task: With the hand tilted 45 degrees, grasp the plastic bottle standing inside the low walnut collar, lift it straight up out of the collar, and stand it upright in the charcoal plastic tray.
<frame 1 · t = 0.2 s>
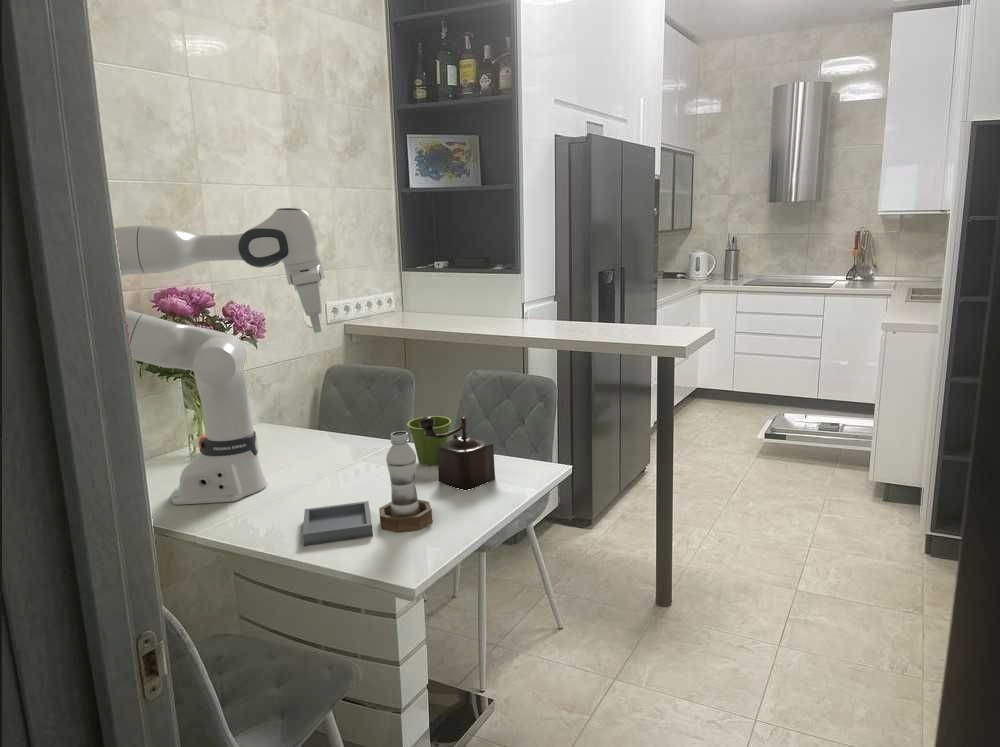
hand: (317, 329, 184), 39 cm above the table, tool pointing down, fingers open, 8 cm apart
walnut collar: (406, 521, 162), on the table
charcoal tray: (338, 528, 160), on the table
manual coffee grinder: (458, 484, 184), on the table
plastic bottle: (406, 522, 162), resting in walnut collar
plant pot: (432, 462, 201), on the table
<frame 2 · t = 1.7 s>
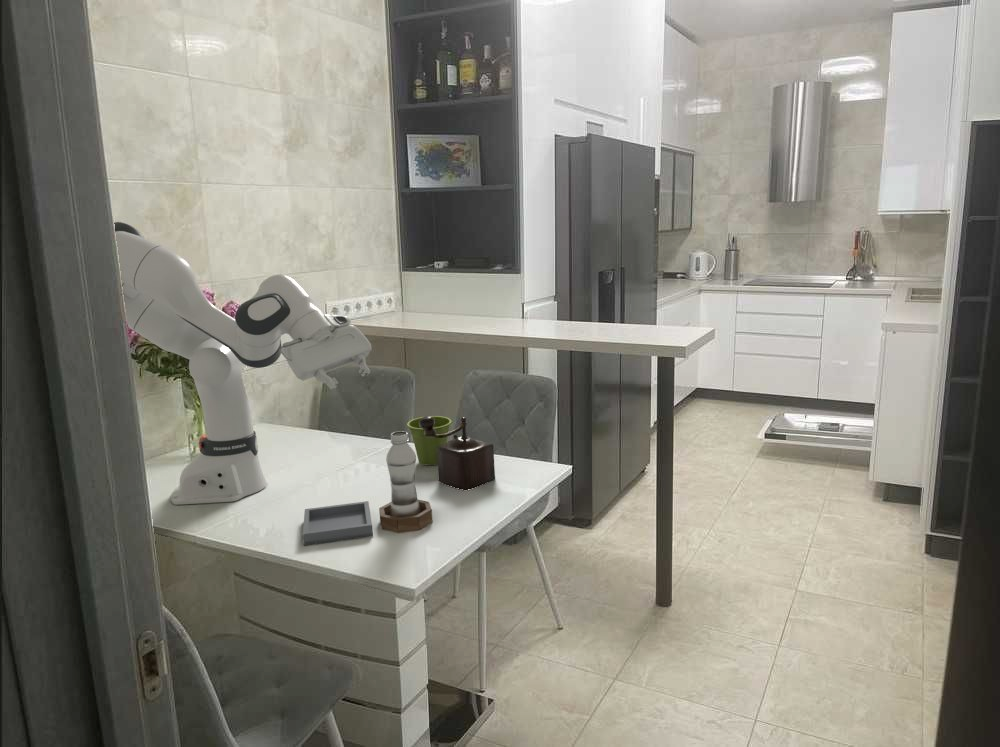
hand: (351, 380, 162), 31 cm above the table, tool tilted 45°, fingers open, 8 cm apart
nothing on the table moved.
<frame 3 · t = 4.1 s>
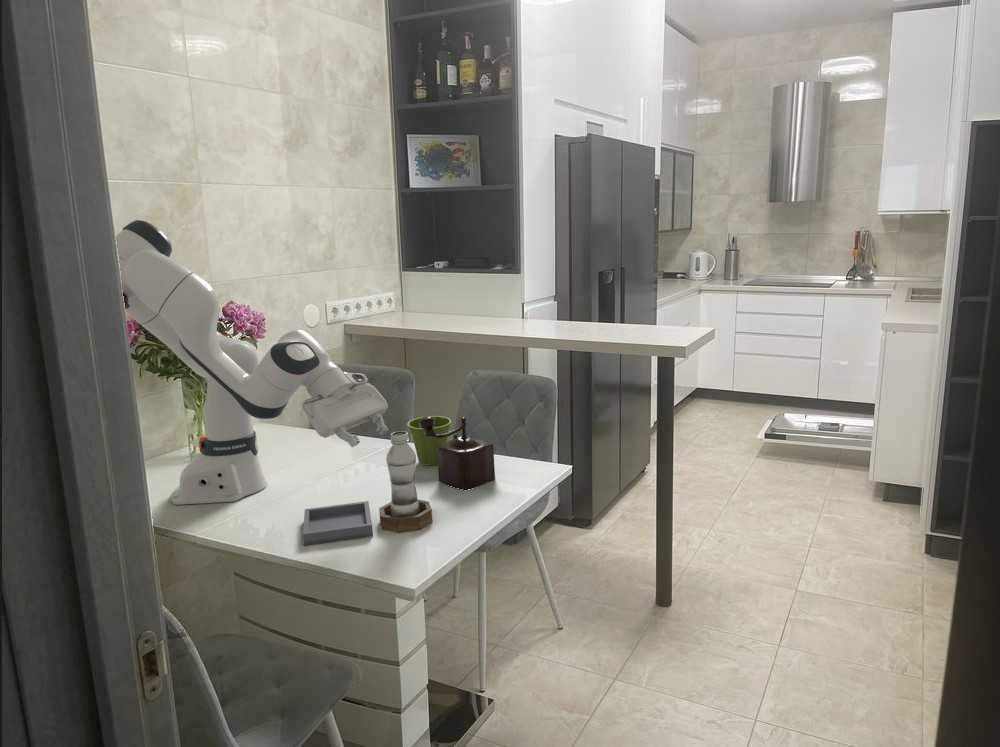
hand: (370, 438, 161), 18 cm above the table, tool tilted 45°, fingers open, 8 cm apart
nothing on the table moved.
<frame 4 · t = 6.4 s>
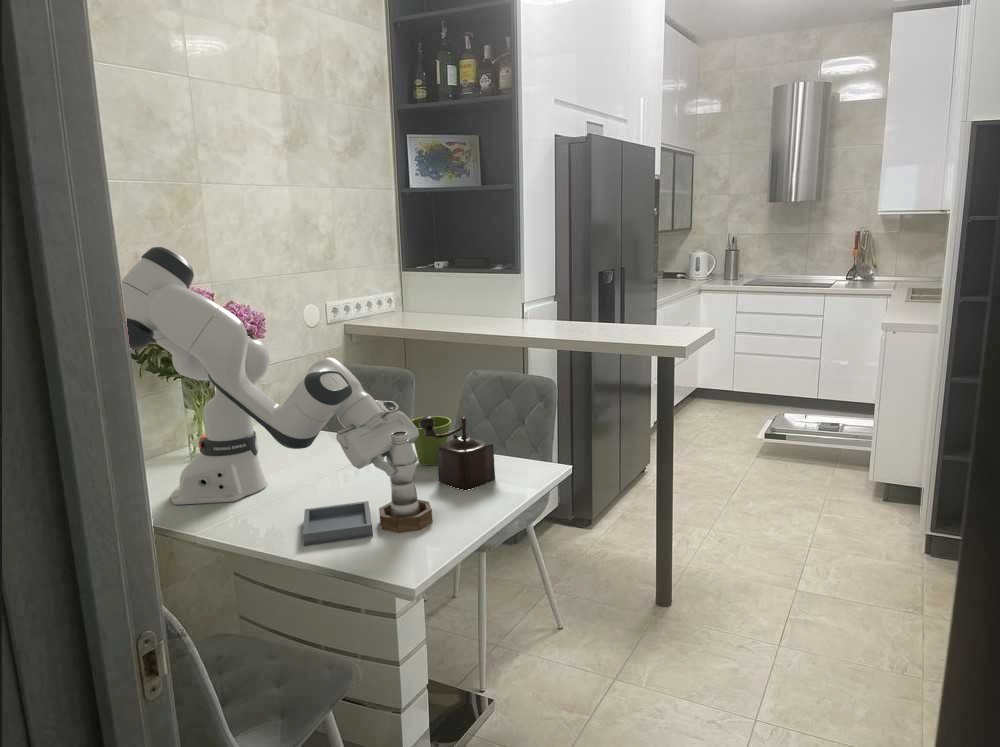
hand: (404, 468, 159), 12 cm above the table, tool tilted 45°, fingers closed on plastic bottle, 6 cm apart
plastic bottle: (406, 522, 162), resting in walnut collar, touching gripper
everything else where it was.
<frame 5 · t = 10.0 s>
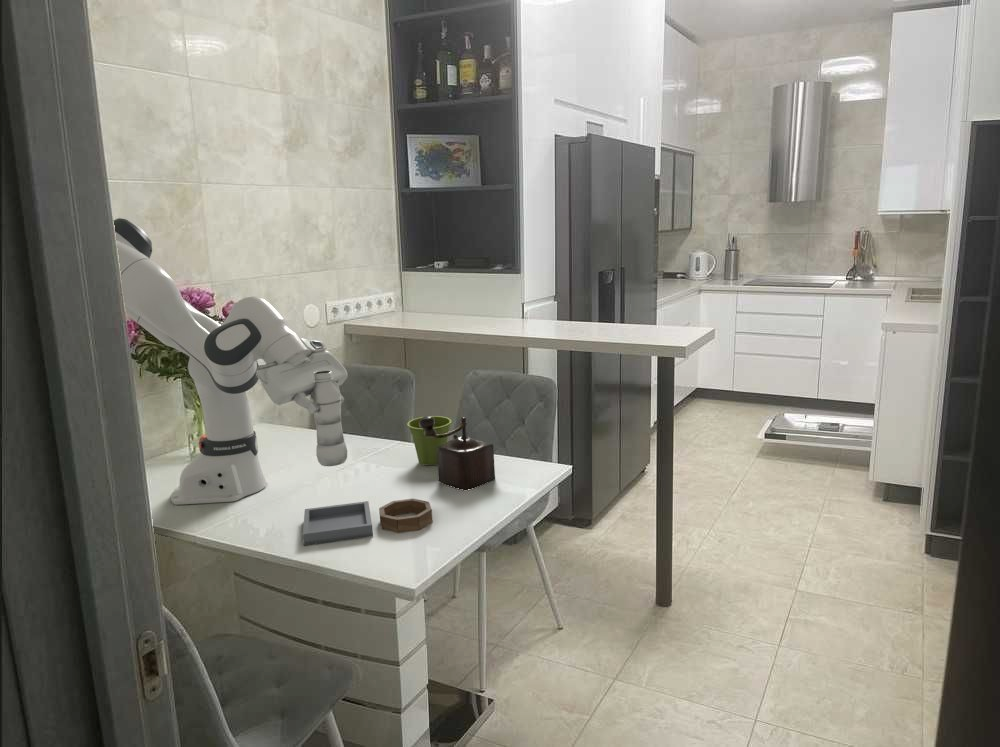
hand: (328, 406, 155), 27 cm above the table, tool tilted 45°, fingers closed on plastic bottle, 6 cm apart
plastic bottle: (333, 465, 157), point 14 cm above the table, touching gripper
everything else where it was.
when the fingers open (15 cm above the table, at t = 13.5 s): plastic bottle moves 2 cm, resting on charcoal tray.
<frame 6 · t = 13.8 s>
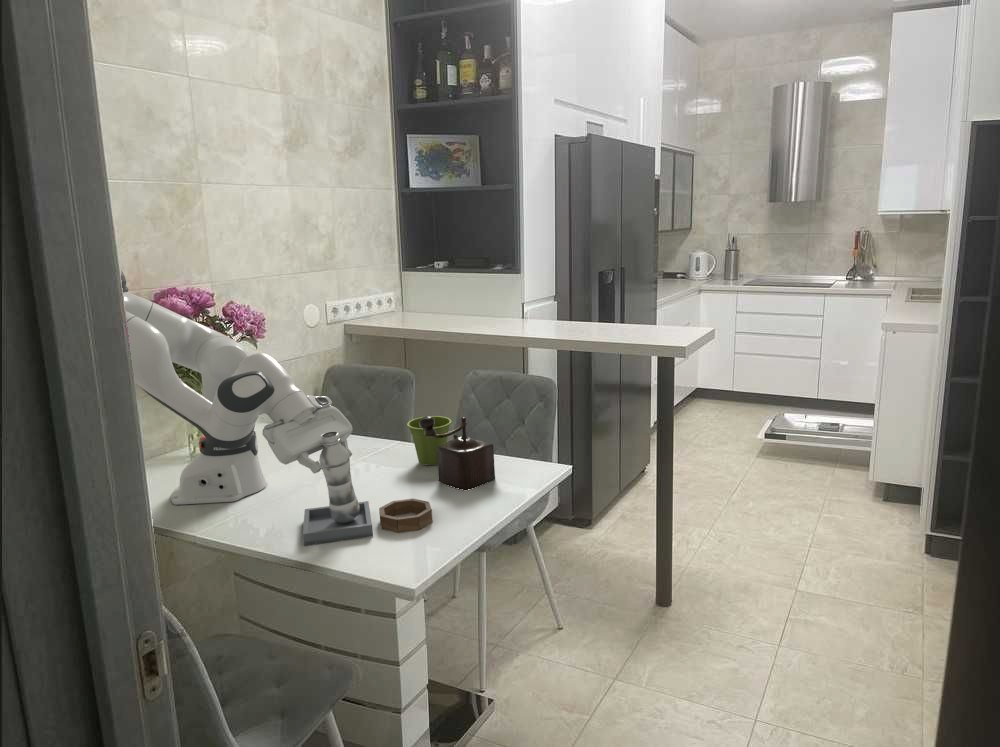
hand: (334, 463, 157), 15 cm above the table, tool tilted 45°, fingers open, 8 cm apart
plastic bottle: (346, 520, 162), point 1 cm above the table, touching charcoal tray, gripper
everything else where it was.
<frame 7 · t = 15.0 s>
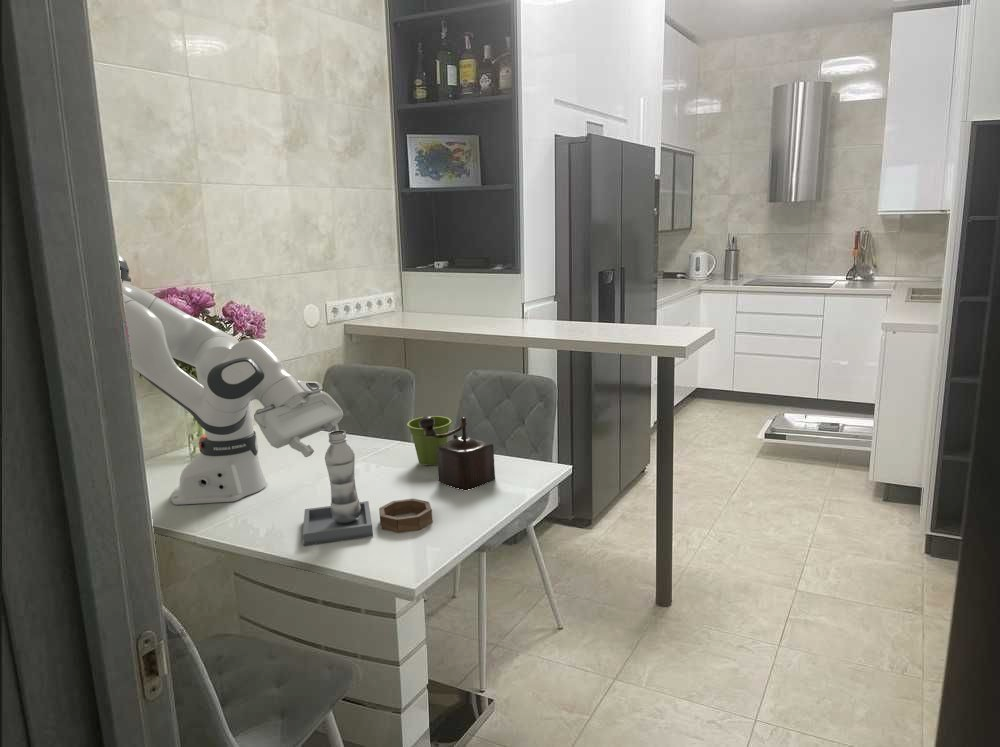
hand: (325, 447, 158), 18 cm above the table, tool tilted 45°, fingers open, 8 cm apart
plastic bottle: (347, 521, 162), point 1 cm above the table, touching charcoal tray
everything else where it was.
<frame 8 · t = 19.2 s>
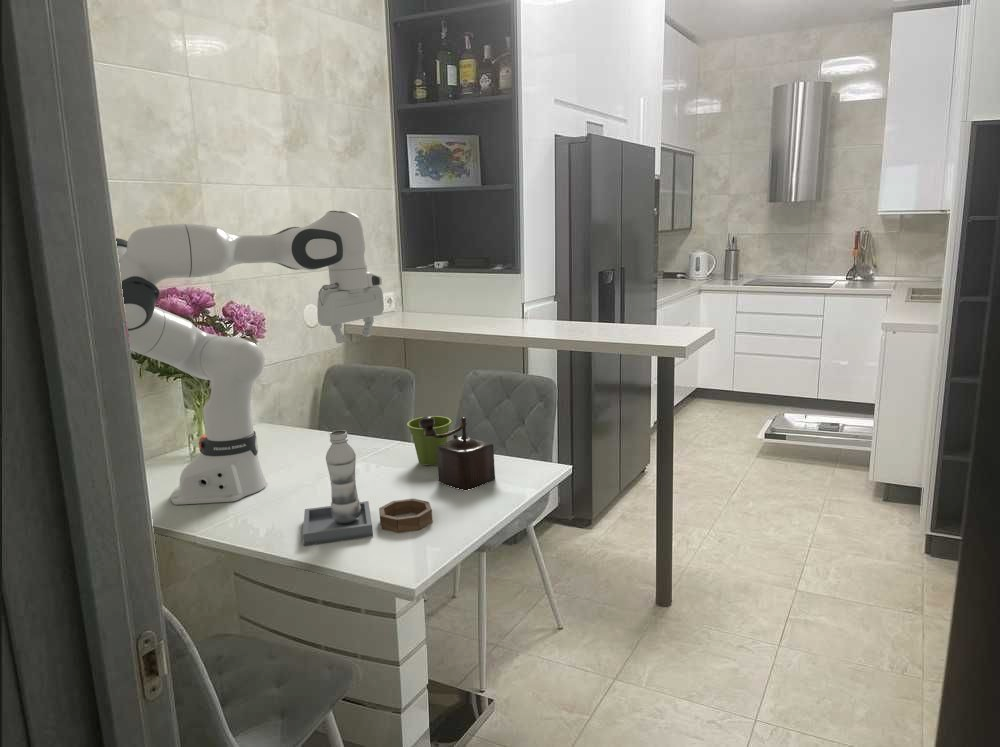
hand: (354, 339, 177), 37 cm above the table, tool pointing down, fingers open, 8 cm apart
nothing on the table moved.
at the end: plastic bottle inside the target area on the charcoal tray (2.4 cm from its centre), point 0.6 cm above the charcoal tray's base; plastic bottle tilted 0°; the gripper is holding nothing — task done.
